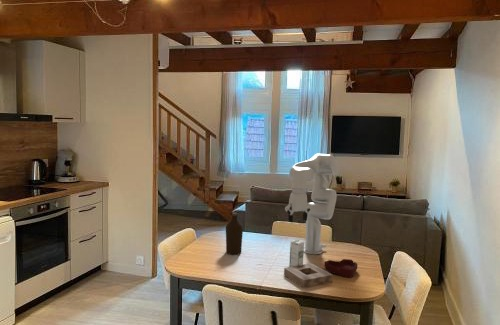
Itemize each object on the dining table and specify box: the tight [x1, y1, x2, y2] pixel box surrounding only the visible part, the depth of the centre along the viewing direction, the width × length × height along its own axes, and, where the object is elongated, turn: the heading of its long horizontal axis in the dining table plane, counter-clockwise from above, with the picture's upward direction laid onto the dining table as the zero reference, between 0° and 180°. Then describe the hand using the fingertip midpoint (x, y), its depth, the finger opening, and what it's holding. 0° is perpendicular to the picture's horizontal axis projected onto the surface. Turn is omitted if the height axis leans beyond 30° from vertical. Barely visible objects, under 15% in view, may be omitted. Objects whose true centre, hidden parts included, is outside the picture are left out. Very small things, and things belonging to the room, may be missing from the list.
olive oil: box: [225, 212, 244, 256], centre depth 242 cm, size 11×11×25 cm
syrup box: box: [289, 239, 305, 267], centre depth 222 cm, size 6×6×14 cm
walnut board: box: [283, 262, 334, 289], centre depth 205 cm, size 18×18×4 cm
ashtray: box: [323, 258, 358, 278], centre depth 214 cm, size 18×16×5 cm
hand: (297, 220), depth 220 cm, fingers open, 9 cm apart
